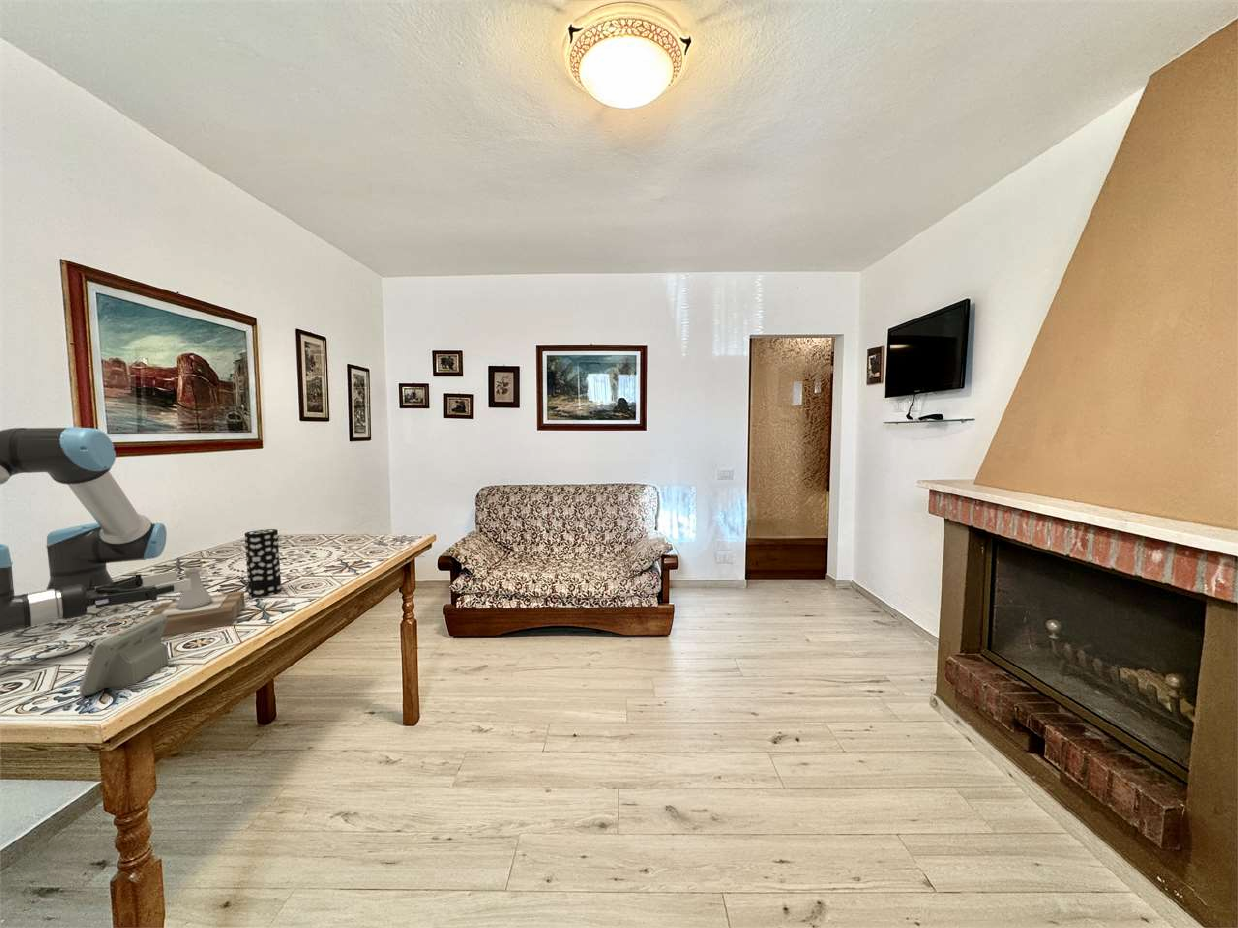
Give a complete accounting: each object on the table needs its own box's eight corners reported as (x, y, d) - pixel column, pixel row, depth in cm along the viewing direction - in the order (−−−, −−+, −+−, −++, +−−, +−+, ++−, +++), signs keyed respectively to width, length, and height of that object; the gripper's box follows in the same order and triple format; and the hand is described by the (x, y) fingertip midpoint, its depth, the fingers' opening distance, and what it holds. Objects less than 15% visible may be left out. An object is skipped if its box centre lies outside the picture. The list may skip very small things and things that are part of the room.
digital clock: (150, 657, 105) (146, 612, 104) (188, 657, 104) (185, 611, 104) (62, 698, 88) (57, 644, 88) (107, 698, 88) (102, 644, 88)
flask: (189, 611, 121) (186, 573, 120) (169, 609, 123) (166, 572, 122) (219, 601, 128) (216, 566, 127) (200, 599, 130) (197, 564, 129)
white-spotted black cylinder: (274, 587, 154) (270, 528, 152) (286, 591, 149) (282, 530, 148) (244, 594, 146) (239, 532, 145) (255, 599, 142) (251, 535, 141)
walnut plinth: (162, 617, 129) (161, 601, 129) (244, 604, 138) (243, 589, 138) (138, 641, 113) (136, 623, 113) (232, 624, 123) (230, 608, 122)
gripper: (53, 609, 113) (171, 585, 130) (68, 632, 99) (198, 602, 116) (50, 579, 113) (169, 559, 130) (65, 598, 98) (196, 572, 116)
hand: (183, 579), depth 123 cm, fingers open, 13 cm apart
